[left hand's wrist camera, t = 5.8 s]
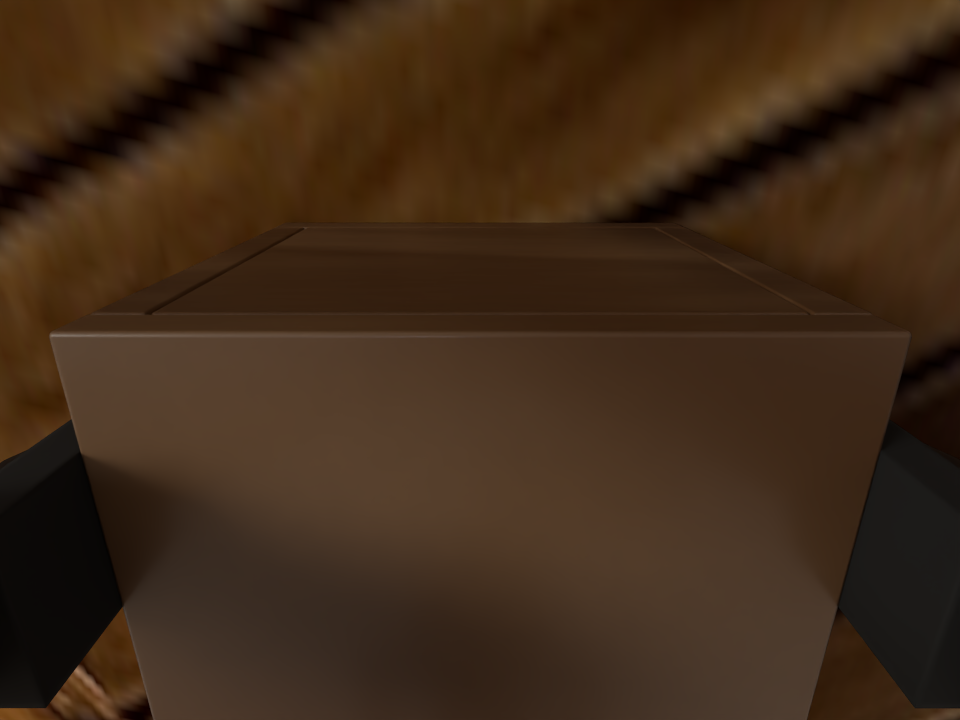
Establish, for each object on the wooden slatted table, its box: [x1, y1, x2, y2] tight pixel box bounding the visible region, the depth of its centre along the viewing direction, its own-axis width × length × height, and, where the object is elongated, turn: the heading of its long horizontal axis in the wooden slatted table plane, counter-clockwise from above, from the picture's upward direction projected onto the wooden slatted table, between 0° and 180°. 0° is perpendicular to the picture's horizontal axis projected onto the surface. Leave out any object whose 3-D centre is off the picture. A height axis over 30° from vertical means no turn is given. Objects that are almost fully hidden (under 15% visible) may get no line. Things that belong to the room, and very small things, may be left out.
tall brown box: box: [49, 223, 912, 720], centre depth 15 cm, size 18×11×10 cm, turn 0°
